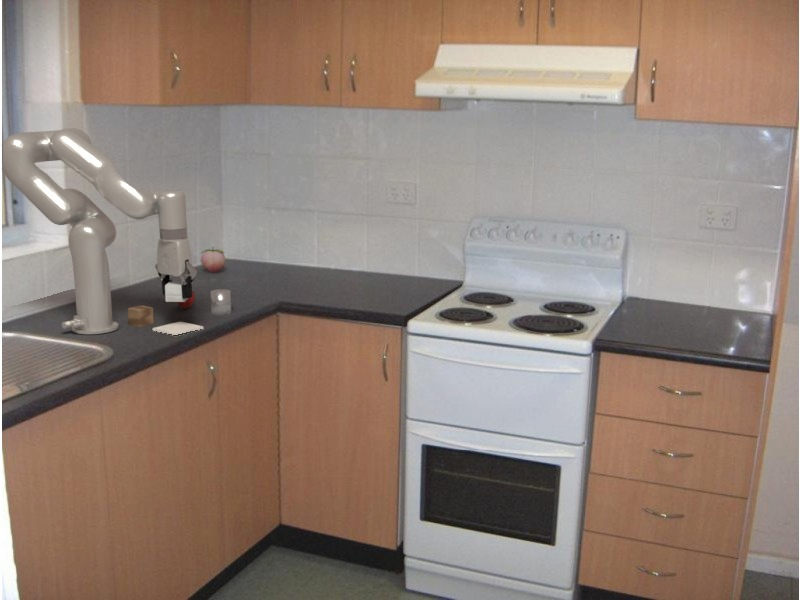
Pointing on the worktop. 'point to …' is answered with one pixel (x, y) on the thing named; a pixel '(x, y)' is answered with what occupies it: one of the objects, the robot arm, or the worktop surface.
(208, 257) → the decorative fruit
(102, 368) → the worktop surface
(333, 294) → the worktop surface
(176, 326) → the plate
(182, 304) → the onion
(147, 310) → the walnut block
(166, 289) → the small box
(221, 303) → the tin
